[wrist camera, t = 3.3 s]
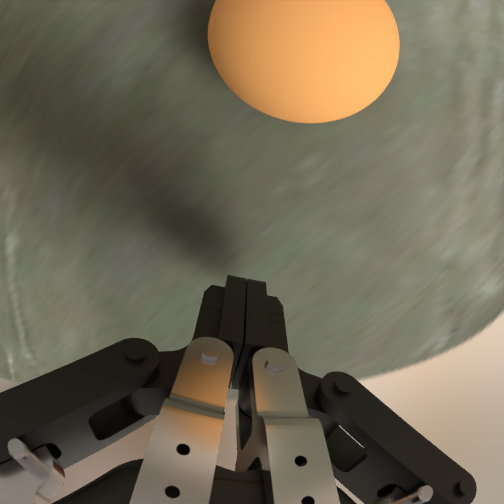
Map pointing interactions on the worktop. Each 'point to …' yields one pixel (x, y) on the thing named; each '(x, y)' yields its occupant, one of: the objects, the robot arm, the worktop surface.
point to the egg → (304, 54)
